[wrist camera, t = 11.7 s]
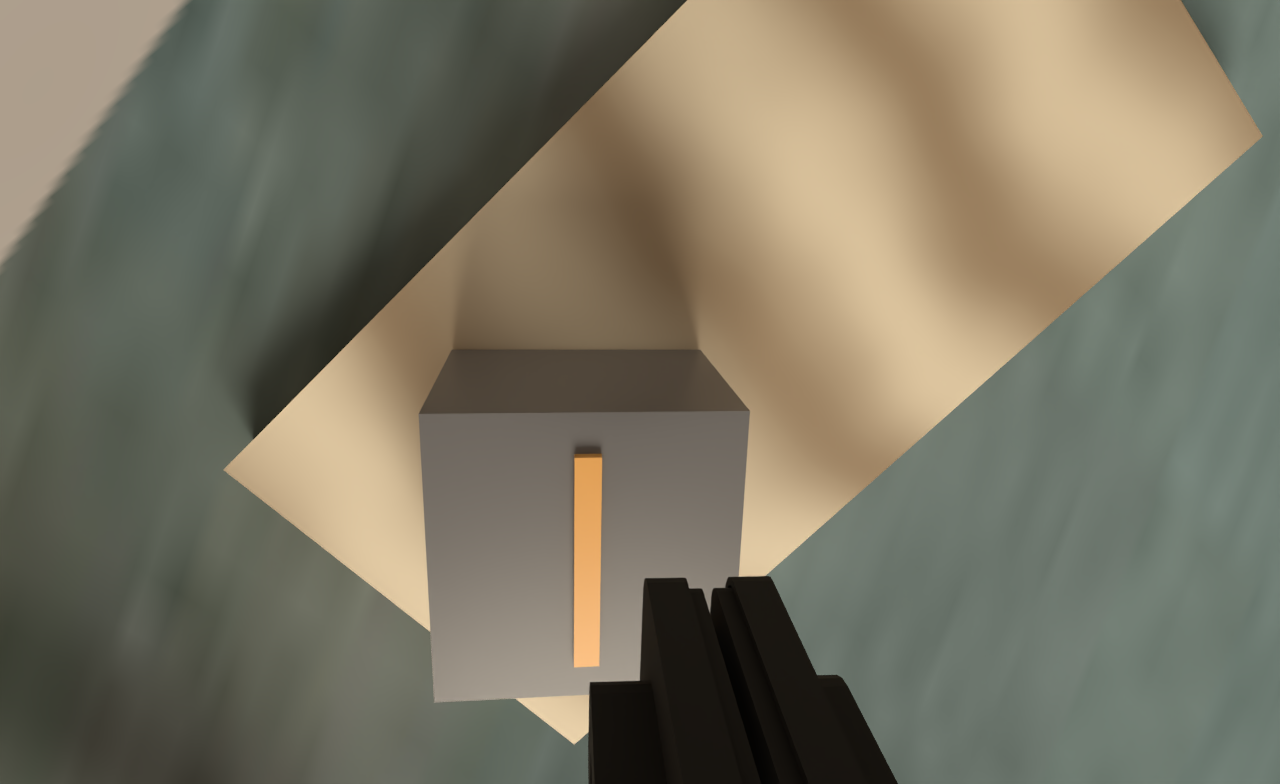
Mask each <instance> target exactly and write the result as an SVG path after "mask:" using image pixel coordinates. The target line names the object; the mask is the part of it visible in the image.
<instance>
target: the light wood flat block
mask: <svg viewBox="0 0 1280 784" xmlns="http://www.w3.org/2000/svg"><path fill="white" fill-rule="evenodd" d="M1261 137H1262V134H1261V132H1260V131H1259V129H1258V128H1257V126H1256V124H1255V123H1254V121H1253V119H1252V118H1251V116H1250V114H1249V113H1248V111H1247V109H1246V108H1245V106H1244V104H1243V103H1242V101H1241V99H1240V98H1239V96H1238V94H1237V93H1236V91H1235V89H1234V88H1233V86H1232V84H1231V83H1230V81H1229V79H1228V78H1227V76H1226V74H1225V73H1224V71H1223V69H1222V68H1221V66H1220V64H1219V63H1218V61H1217V60H1216V58H1215V56H1214V55H1213V53H1212V51H1211V50H1210V48H1209V46H1208V45H1207V43H1206V41H1205V40H1204V38H1203V36H1202V35H1201V33H1200V31H1199V30H1198V28H1197V26H1196V25H1195V23H1194V21H1193V20H1192V18H1191V16H1190V15H1189V13H1188V11H1187V10H1186V8H1185V6H1184V5H1183V3H1182V1H1181V0H687V1H686V2H685V3H684V4H683V5H682V6H681V7H680V8H679V9H678V10H677V11H676V12H675V13H674V14H673V15H672V16H671V17H670V18H669V19H668V20H667V21H666V22H665V23H664V24H663V25H662V26H661V27H660V28H659V29H658V30H657V31H656V32H655V33H654V35H653V36H652V37H651V38H650V39H649V40H648V41H647V42H646V43H645V44H644V45H643V46H642V47H641V48H640V49H639V50H638V51H637V52H636V53H635V54H634V55H633V56H632V57H631V58H630V59H629V60H628V61H627V62H626V63H625V64H624V65H623V66H622V67H621V68H620V69H619V70H618V71H617V72H616V73H615V74H614V75H613V76H612V77H611V78H610V79H609V80H608V81H607V82H606V83H605V84H604V85H603V86H602V87H601V88H600V89H599V90H598V91H597V92H596V93H595V94H594V95H593V96H592V97H591V98H590V99H589V100H588V101H587V102H586V103H585V104H584V105H583V106H582V107H581V108H580V109H579V110H578V111H577V112H576V113H575V115H574V116H573V117H572V118H571V119H570V120H569V121H568V122H567V123H566V124H565V125H564V126H563V127H562V128H561V129H560V130H559V131H558V132H557V133H556V134H555V135H554V136H553V137H552V138H551V139H550V140H549V141H548V142H547V143H546V144H545V145H544V146H543V147H542V148H541V149H540V150H539V151H538V152H537V153H536V154H535V155H534V156H533V157H532V158H531V159H530V160H529V161H528V162H527V163H526V164H525V165H524V166H523V167H522V168H521V169H520V170H519V171H518V172H517V173H516V174H515V175H514V176H513V177H512V178H511V179H510V180H509V181H508V182H507V183H506V184H505V185H504V186H503V187H502V188H501V189H500V190H499V191H498V192H497V193H496V195H495V196H494V197H493V198H492V199H491V200H490V201H489V202H488V203H487V204H486V205H485V206H484V207H483V208H482V209H481V210H480V211H479V212H478V213H477V214H476V215H475V216H474V217H473V218H472V219H471V220H470V221H469V222H468V223H467V224H466V225H465V226H464V227H463V228H462V229H461V230H460V231H459V232H458V233H457V234H456V235H455V236H454V237H453V238H452V239H451V240H450V241H449V242H448V243H447V244H446V245H445V246H444V247H443V248H442V249H441V250H440V251H439V252H438V253H437V254H436V255H435V256H434V257H433V258H432V259H431V260H430V261H429V262H428V263H427V264H426V265H425V266H424V267H423V268H422V269H421V270H420V271H419V272H418V273H417V275H416V276H415V277H414V278H413V279H412V280H411V281H410V282H409V283H408V284H407V285H406V286H405V287H404V288H403V289H402V290H401V291H400V292H399V293H398V294H397V295H396V296H395V297H394V298H393V299H392V300H391V301H390V302H389V303H388V304H387V305H386V306H385V307H384V308H383V309H382V310H381V311H380V312H379V313H378V314H377V315H376V316H375V317H374V318H373V319H372V320H371V321H370V322H369V323H368V324H367V325H366V326H365V327H364V328H363V329H362V330H361V331H360V332H359V333H358V334H357V335H356V336H355V337H354V338H353V339H352V340H351V341H350V342H349V343H348V344H347V345H346V346H345V347H344V348H343V349H342V350H341V351H340V352H339V353H338V354H337V356H336V357H335V358H334V359H333V360H332V361H331V362H330V363H329V364H328V365H327V366H326V367H325V368H324V369H323V370H322V371H321V372H320V373H319V374H318V375H317V376H316V377H315V378H314V379H313V380H312V381H311V382H310V383H309V384H308V385H307V386H306V387H305V388H304V389H303V390H302V391H301V392H300V393H299V394H298V395H297V396H296V397H295V398H294V399H293V400H292V401H291V402H290V403H289V404H288V405H287V406H286V407H285V408H284V409H283V410H282V411H281V412H280V413H279V414H278V415H277V416H276V417H275V418H274V419H273V420H272V421H271V422H270V423H269V424H268V425H267V426H266V427H265V428H264V429H263V430H262V431H261V432H260V433H259V434H258V436H257V437H256V438H255V439H254V440H253V441H252V442H251V443H250V444H249V445H248V446H247V447H246V448H245V449H244V450H243V451H242V452H241V453H240V454H239V455H238V456H237V457H236V458H235V459H234V460H233V461H232V462H231V463H230V464H229V465H228V466H227V467H226V468H225V469H224V471H226V472H227V473H228V474H229V475H231V476H232V477H233V478H235V479H236V480H237V481H238V482H240V483H241V484H242V485H243V486H245V487H246V488H247V489H249V490H250V491H251V492H252V493H254V494H255V495H256V496H258V497H259V498H260V499H261V500H263V501H264V502H265V503H266V504H268V505H269V506H270V507H272V508H273V509H274V510H275V511H277V512H278V513H279V514H281V515H282V516H283V517H284V518H286V519H287V520H288V521H289V522H291V523H292V524H293V525H295V526H296V527H297V528H298V529H300V530H301V531H302V532H303V533H305V534H306V535H307V536H309V537H310V538H311V539H312V540H314V541H315V542H316V543H318V544H319V545H320V546H321V547H323V548H324V549H325V550H326V551H328V552H329V553H330V554H332V555H333V556H334V557H335V558H337V559H338V560H339V561H341V562H342V563H343V564H344V565H346V566H347V567H348V568H349V569H351V570H352V571H353V572H355V573H356V574H357V575H358V576H360V577H361V578H362V579H364V580H365V581H366V582H367V583H369V584H370V585H371V586H372V587H374V588H375V589H376V590H378V591H379V592H380V593H381V594H383V595H384V596H385V597H387V598H388V599H389V600H390V601H392V602H393V603H394V604H395V605H397V606H398V607H399V608H401V609H402V610H403V611H404V612H406V613H407V614H408V615H410V616H411V617H412V618H413V619H415V620H416V621H417V622H418V623H420V624H421V625H422V626H424V627H425V628H426V629H427V630H429V631H430V615H429V596H428V578H427V560H426V542H425V523H424V505H423V487H422V468H421V450H420V432H419V412H420V410H421V408H422V406H423V404H424V402H425V400H426V398H427V397H428V395H429V393H430V391H431V389H432V387H433V385H434V383H435V381H436V379H437V377H438V375H439V373H440V371H441V369H442V367H443V365H444V364H445V362H446V360H447V358H448V356H449V354H450V352H451V350H701V351H702V352H703V354H704V355H705V356H706V357H707V358H708V360H709V361H710V362H711V363H712V365H713V366H714V367H715V368H716V370H717V371H718V372H719V373H720V375H721V376H722V377H723V378H724V379H725V381H726V382H727V383H728V384H729V386H730V387H731V388H732V389H733V391H734V392H735V393H736V394H737V396H738V397H739V398H740V399H741V400H742V402H743V403H744V404H745V405H746V407H747V408H748V409H749V410H750V419H749V434H748V448H747V463H746V478H745V492H744V507H743V522H742V536H741V551H740V566H739V577H744V576H766V575H767V574H768V573H769V572H770V571H771V570H772V569H773V568H775V567H776V566H777V565H778V564H779V563H780V562H781V561H782V560H784V559H785V558H786V557H787V556H788V555H789V554H790V553H792V552H793V551H794V550H795V549H796V548H797V547H798V546H799V545H801V544H802V543H803V542H804V541H805V540H806V539H807V538H809V537H810V536H811V535H812V534H813V533H814V532H815V531H816V530H818V529H819V528H820V527H821V526H822V525H823V524H824V523H825V522H827V521H828V520H829V519H830V518H831V517H832V516H833V515H835V514H836V513H837V512H838V511H839V510H840V509H841V508H842V507H844V506H845V505H846V504H847V503H848V502H849V501H850V500H852V499H853V498H854V497H855V496H856V495H857V494H858V493H859V492H861V491H862V490H863V489H864V488H865V487H866V486H867V485H869V484H870V483H871V482H872V481H873V480H874V479H875V478H876V477H878V476H879V475H880V474H881V473H882V472H883V471H884V470H885V469H887V468H888V467H889V466H890V465H891V464H892V463H893V462H895V461H896V460H897V459H898V458H899V457H900V456H901V455H902V454H904V453H905V452H906V451H907V450H908V449H909V448H910V447H912V446H913V445H914V444H915V443H916V442H917V441H918V440H919V439H921V438H922V437H923V436H924V435H925V434H926V433H927V432H929V431H930V430H931V429H932V428H933V427H934V426H935V425H936V424H938V423H939V422H940V421H941V420H942V419H943V418H944V417H945V416H947V415H948V414H949V413H950V412H951V411H952V410H953V409H955V408H956V407H957V406H958V405H959V404H960V403H961V402H962V401H964V400H965V399H966V398H967V397H968V396H969V395H970V394H972V393H973V392H974V391H975V390H976V389H977V388H978V387H979V386H981V385H982V384H983V383H984V382H985V381H986V380H987V379H989V378H990V377H991V376H992V375H993V374H994V373H995V372H996V371H998V370H999V369H1000V368H1001V367H1002V366H1003V365H1004V364H1005V363H1007V362H1008V361H1009V360H1010V359H1011V358H1012V357H1013V356H1015V355H1016V354H1017V353H1018V352H1019V351H1020V350H1021V349H1022V348H1024V347H1025V346H1026V345H1027V344H1028V343H1029V342H1030V341H1032V340H1033V339H1034V338H1035V337H1036V336H1037V335H1038V334H1039V333H1041V332H1042V331H1043V330H1044V329H1045V328H1046V327H1047V326H1048V325H1050V324H1051V323H1052V322H1053V321H1054V320H1055V319H1056V318H1058V317H1059V316H1060V315H1061V314H1062V313H1063V312H1064V311H1065V310H1067V309H1068V308H1069V307H1070V306H1071V305H1072V304H1073V303H1075V302H1076V301H1077V300H1078V299H1079V298H1080V297H1081V296H1082V295H1084V294H1085V293H1086V292H1087V291H1088V290H1089V289H1090V288H1092V287H1093V286H1094V285H1095V284H1096V283H1097V282H1098V281H1099V280H1101V279H1102V278H1103V277H1104V276H1105V275H1106V274H1107V273H1108V272H1110V271H1111V270H1112V269H1113V268H1114V267H1115V266H1116V265H1118V264H1119V263H1120V262H1121V261H1122V260H1123V259H1124V258H1125V257H1127V256H1128V255H1129V254H1130V253H1131V252H1132V251H1133V250H1135V249H1136V248H1137V247H1138V246H1139V245H1140V244H1141V243H1142V242H1144V241H1145V240H1146V239H1147V238H1148V237H1149V236H1150V235H1152V234H1153V233H1154V232H1155V231H1156V230H1157V229H1158V228H1159V227H1161V226H1162V225H1163V224H1164V223H1165V222H1166V221H1167V220H1168V219H1170V218H1171V217H1172V216H1173V215H1174V214H1175V213H1176V212H1178V211H1179V210H1180V209H1181V208H1182V207H1183V206H1184V205H1185V204H1187V203H1188V202H1189V201H1190V200H1191V199H1192V198H1193V197H1195V196H1196V195H1197V194H1198V193H1199V192H1200V191H1201V190H1202V189H1204V188H1205V187H1206V186H1207V185H1208V184H1209V183H1210V182H1211V181H1213V180H1214V179H1215V178H1216V177H1217V176H1218V175H1219V174H1221V173H1222V172H1223V171H1224V170H1225V169H1226V168H1227V167H1228V166H1230V165H1231V164H1232V163H1233V162H1234V161H1235V160H1236V159H1238V158H1239V157H1240V156H1241V155H1242V154H1243V153H1244V152H1245V151H1247V150H1248V149H1249V148H1250V147H1251V146H1252V145H1253V144H1255V143H1256V142H1257V141H1258V140H1259V139H1260V138H1261ZM516 699H517V700H518V701H519V702H521V703H522V704H523V705H524V706H526V707H527V708H528V709H530V710H531V711H532V712H533V713H535V714H536V715H537V716H539V717H540V718H541V719H542V720H544V721H545V722H546V723H547V724H549V725H550V726H551V727H553V728H554V729H555V730H556V731H558V732H559V733H560V734H562V735H563V736H564V737H565V738H567V739H568V740H569V741H570V742H572V743H573V744H575V743H576V742H578V741H579V740H580V739H581V738H582V737H583V736H584V735H586V734H587V733H588V732H589V695H574V696H554V697H534V698H516Z"/></svg>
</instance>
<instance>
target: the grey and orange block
mask: <svg viewBox="0 0 1280 784" xmlns="http://www.w3.org/2000/svg"><path fill="white" fill-rule="evenodd" d="M749 419H750V410H749V409H748V408H747V407H746V405H745V404H744V403H743V402H742V400H741V399H740V398H739V397H738V396H737V394H736V393H735V392H734V391H733V389H732V388H731V387H730V386H729V384H728V383H727V382H726V381H725V379H724V378H723V377H722V376H721V375H720V373H719V372H718V371H717V370H716V368H715V367H714V366H713V365H712V363H711V362H710V361H709V360H708V358H707V357H706V356H705V355H704V354H703V352H702V351H701V350H451V352H450V354H449V356H448V358H447V360H446V362H445V364H444V365H443V367H442V369H441V371H440V373H439V375H438V377H437V379H436V381H435V383H434V385H433V387H432V389H431V391H430V393H429V395H428V397H427V398H426V400H425V402H424V404H423V406H422V408H421V410H420V412H419V432H420V450H421V468H422V487H423V505H424V523H425V542H426V560H427V578H428V596H429V615H430V633H431V651H432V669H433V688H434V702H453V701H474V700H494V699H514V698H534V697H554V696H574V695H589V686H590V682H612V681H640V660H641V634H642V607H643V586H644V580H645V578H686V579H687V582H688V585H689V588H702V590H703V592H704V595H705V599H706V602H707V605H708V609H709V612H710V607H711V595H712V590H713V588H725V585H726V581H727V579H728V577H739V566H740V551H741V536H742V522H743V507H744V492H745V478H746V463H747V448H748V434H749Z"/></svg>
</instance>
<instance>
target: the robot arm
mask: <svg viewBox="0 0 1280 784" xmlns="http://www.w3.org/2000/svg"><path fill="white" fill-rule="evenodd" d="M588 768H589V784H898V783H897V781H896V779H895V777H894V775H893V773H892V772H891V770H890V768H889V766H888V764H887V762H886V760H885V758H884V756H883V754H882V752H881V750H880V748H879V746H878V744H877V742H876V740H875V738H874V737H873V735H872V733H871V731H870V729H869V727H868V725H867V723H866V721H865V719H864V717H863V715H862V713H861V711H860V709H859V707H858V705H857V704H856V702H855V700H854V698H853V696H852V694H851V692H850V690H849V688H848V686H847V685H846V683H845V682H844V680H843V679H842V678H841V677H839V676H838V675H817V674H816V672H815V670H814V668H813V666H812V664H811V662H810V660H809V657H808V655H807V653H806V651H805V649H804V647H803V645H802V642H801V640H800V638H799V636H798V634H797V632H796V630H795V627H794V625H793V623H792V621H791V619H790V617H789V615H788V612H787V610H786V608H785V606H784V604H783V602H782V600H781V597H780V595H779V593H778V591H777V589H776V587H775V585H774V582H773V580H772V579H771V577H769V576H744V577H728V579H727V581H726V585H725V588H713V590H712V595H711V607H710V612H709V609H708V605H707V602H706V599H705V595H704V592H703V590H702V588H689V585H688V582H687V579H686V578H645V580H644V586H643V607H642V634H641V660H640V681H612V682H590V686H589V737H588Z"/></svg>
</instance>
